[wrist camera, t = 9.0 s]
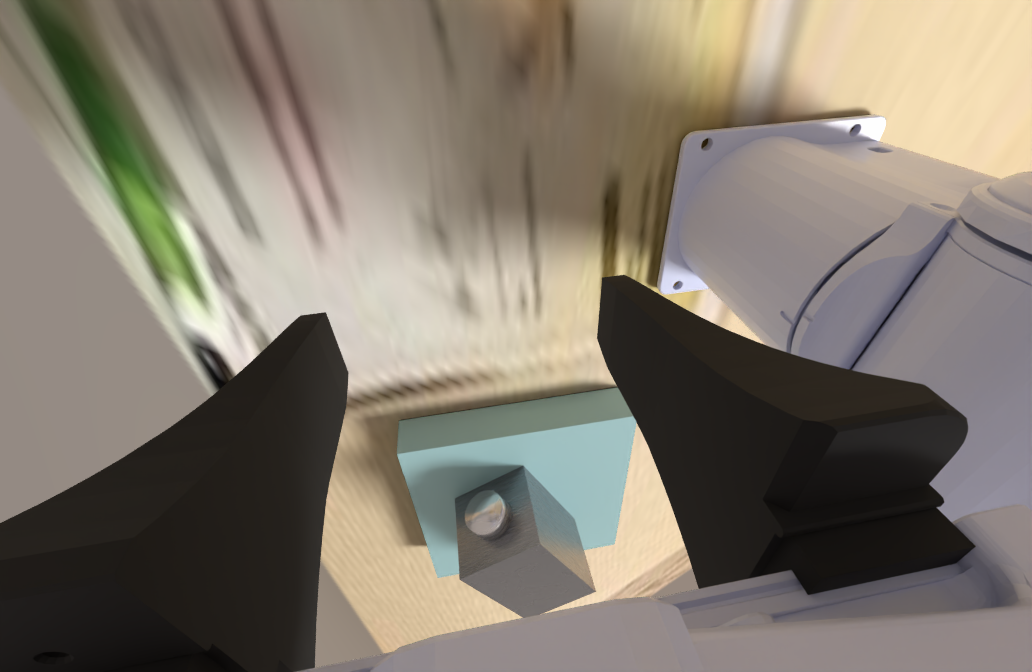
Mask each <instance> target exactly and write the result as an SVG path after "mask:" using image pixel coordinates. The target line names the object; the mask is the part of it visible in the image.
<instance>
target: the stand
mask: <svg viewBox="0 0 1032 672" xmlns="http://www.w3.org/2000/svg"><path fill="white" fill-rule="evenodd" d="M635 428H636V420H635V419H634V417H633V415H632V413H631V411H630V409H629V407H628V405H627V404H626V402H625V400H624V398H623V396H622V394H621V392H620V391H619V389H618V387H616V388H610V389H603V390H597V391H590V392H584V393H577V394H571V395H564V396H557V397H551V398H544V399H538V400H531V401H525V402H518V403H512V404H505V405H499V406H492V407H485V408H479V409H472V410H466V411H459V412H453V413H446V414H440V415H433V416H427V417H420V418H413V419H407V420H400V421H399V426H398V443H397V456H398V459H399V462H400V465H401V468H402V471H403V474H404V477H405V480H406V483H407V486H408V489H409V492H410V495H411V498H412V501H413V504H414V507H415V510H416V513H417V516H418V519H419V523H420V526H421V529H422V532H423V535H424V538H425V541H426V544H427V547H428V550H429V553H430V556H431V559H432V562H433V565H434V568H435V571H436V574H437V577H438V578H440V577H445V576H450V575H456V574H459V560H458V544H457V528H456V511H455V498H456V497H459V496H461V495H463V494H465V493H467V492H469V491H471V490H473V489H475V488H477V487H479V486H481V485H484V484H486V483H488V482H490V481H492V480H494V479H496V478H498V477H500V476H502V475H504V474H507V473H509V472H511V471H513V470H515V469H517V468H519V467H521V466H523V465H524V467H525V468H526V469H527V470H528V471H529V472H530V473H531V474H532V475H533V476H534V477H535V478H536V479H537V480H538V481H539V482H540V483H541V484H542V485H543V486H544V487H545V488H546V489H547V490H548V492H549V493H550V494H551V495H552V496H553V497H554V498H555V499H556V500H557V501H558V502H559V503H560V504H561V505H562V506H563V507H564V508H565V509H566V510H567V511H568V512H569V513H570V514H571V515H572V516H573V518H574V519H575V522H576V525H577V529H578V532H579V535H580V539H581V542H582V546H583V549H584V550H587V549H592V548H597V547H603V546H608V545H613V544H615V539H616V533H617V528H618V522H619V517H620V511H621V505H622V500H623V494H624V489H625V483H626V478H627V472H628V466H629V461H630V455H631V450H632V444H633V439H634V433H635Z"/></svg>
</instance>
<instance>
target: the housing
mask: <svg viewBox="0 0 1032 672" xmlns="http://www.w3.org/2000/svg"><path fill="white" fill-rule="evenodd" d="M455 511H456V528H457V544H458V560H459V576H460V580H461V581H463V582H465V583H466V584H468V585H470V586H471V587H473V588H475V589H476V590H478V591H480V592H481V593H483V594H485V595H486V596H488V597H490V598H491V599H493V600H495V601H496V602H498V603H500V604H501V605H503V606H505V607H506V608H508V609H510V610H511V611H513V612H515V613H516V614H518V615H520V616H521V617H523V618H526V617H530V616H535V615H540V614H542V613H545V612H547V611H550V610H552V609H554V608H557V607H559V606H562V605H564V604H567V603H569V602H572V601H574V600H576V599H579V598H581V597H584V596H586V595H589V594H591V593H594V592H596V590H595V587H594V584H593V580H592V577H591V573H590V570H589V566H588V563H587V560H586V556H585V553H584V549H583V546H582V542H581V539H580V535H579V532H578V529H577V525H576V522H575V519H574V518H573V516H572V515H571V514H570V513H569V512H568V511H567V510H566V509H565V508H564V507H563V506H562V505H561V504H560V503H559V502H558V501H557V500H556V499H555V498H554V497H553V496H552V495H551V494H550V493H549V492H548V490H547V489H546V488H545V487H544V486H543V485H542V484H541V483H540V482H539V481H538V480H537V479H536V478H535V477H534V476H533V475H532V474H531V473H530V472H529V471H528V470H527V469H526V468H525V467H524V465H523V466H521V467H519V468H517V469H515V470H513V471H511V472H509V473H507V474H504V475H502V476H500V477H498V478H496V479H494V480H492V481H490V482H488V483H486V484H484V485H481V486H479V487H477V488H475V489H473V490H471V491H469V492H467V493H465V494H463V495H461V496H459V497H456V498H455Z"/></svg>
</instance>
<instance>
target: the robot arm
mask: <svg viewBox="0 0 1032 672" xmlns="http://www.w3.org/2000/svg"><path fill="white" fill-rule="evenodd" d="M885 125H886V119H885V118H884V117H883V116H880V115H864V116H853V117H842V118H831V119H820V120H810V121H799V122H788V123H777V124H766V125H756V126H745V127H734V128H723V129H712V130H702V131H693V132H690V133H689V134H687V135H686V136H685V138H684V139H683V141H682V144H681V149H680V154H679V160H678V166H677V172H676V178H675V183H674V189H673V195H672V201H671V206H670V212H669V218H668V224H667V230H666V235H665V241H664V247H663V253H662V258H661V264H660V270H659V276H658V282H657V288H658V290H659V291H660V292H661V293H662V294H673V293H680V292H688V291H696V290H703V289H711V290H712V291H713V292H714V293H715V294H716V295H717V296H718V297H719V298H720V299H721V300H722V301H723V302H724V303H725V304H726V305H727V306H728V307H729V308H730V309H731V310H732V311H733V312H734V314H735V315H736V316H737V317H738V318H739V319H740V320H741V321H742V322H743V323H744V324H745V325H746V326H747V327H748V328H749V329H750V330H751V331H752V332H753V333H754V334H755V335H756V336H757V337H758V338H759V339H760V340H761V341H762V342H763V343H764V344H765V345H764V344H761V343H758V342H756V341H753V340H751V339H748V338H746V337H743V336H741V335H738V334H736V333H733V332H731V331H729V330H726V329H724V328H722V327H720V326H718V325H716V324H713V323H711V322H709V321H707V320H705V319H703V318H701V317H699V316H697V315H695V314H694V313H692V312H690V311H688V310H686V309H684V308H682V307H681V306H679V305H677V304H675V303H673V302H672V301H670V300H668V299H666V298H665V297H663V296H661V295H659V294H658V293H656V292H654V291H653V290H651V289H649V288H648V287H646V286H644V285H642V284H641V283H639V282H637V281H635V280H633V279H632V278H630V277H628V276H625V275H620V276H612V277H604V278H602V287H601V299H600V311H599V323H598V334H597V339H598V342H599V345H600V348H601V351H602V354H603V357H604V359H605V362H606V365H607V367H608V369H609V371H610V373H611V375H612V377H613V379H614V381H615V383H616V385H617V387H618V389H619V391H620V392H621V394H622V396H623V398H624V400H625V402H626V404H627V405H628V407H629V409H630V411H631V413H632V415H633V417H634V419H635V420H636V422H637V424H638V426H639V428H640V430H641V432H642V434H643V436H644V438H645V440H646V442H647V444H648V446H649V449H650V451H651V454H652V456H653V459H654V461H655V464H656V467H657V469H658V472H659V474H660V477H661V479H662V482H663V485H664V487H665V490H666V493H667V495H668V498H669V501H670V503H671V506H672V509H673V512H674V514H675V517H676V520H677V523H678V526H679V529H680V532H681V535H682V538H683V541H684V544H685V547H686V550H687V553H688V556H689V559H690V562H691V565H692V569H693V572H694V575H695V578H696V581H697V584H698V587H699V589H696V590H691V591H686V592H682V593H676V594H672V595H667V596H662V597H657V598H650V597H637V598H625V599H614V600H609V601H604V602H599V603H594V604H589V605H584V606H579V607H575V608H570V609H565V610H560V611H555V612H550V613H545V614H540V615H535V616H530V617H526V618H521V619H516V620H511V621H506V622H501V623H496V624H491V625H486V626H481V627H476V628H472V629H467V630H462V631H457V632H452V633H447V634H442V635H437V636H434V637H430V638H427V639H424V640H421V641H418V642H415V643H412V644H408V645H405V646H402V647H399V648H398V649H397V650H395V651H394V652H389V653H384V654H380V655H375V656H370V657H365V658H360V659H356V660H351V661H346V662H341V663H336V664H331V665H326V666H321V667H317V668H315V643H316V641H315V640H316V616H317V600H318V583H319V582H318V581H319V568H320V557H321V545H322V534H323V525H324V516H325V506H326V498H327V492H328V487H329V481H330V477H331V473H332V468H333V464H334V459H335V455H336V450H337V446H338V442H339V437H340V433H341V428H342V424H343V419H344V414H345V409H346V402H347V389H348V371H347V368H346V365H345V363H344V360H343V357H342V355H341V352H340V349H339V347H338V344H337V341H336V338H335V336H334V333H333V330H332V328H331V325H330V322H329V320H328V317H327V314H326V313H318V314H310V315H302V316H300V317H299V318H297V319H296V320H295V321H294V322H293V323H292V324H291V325H289V326H288V327H287V328H286V329H285V330H284V331H283V332H282V333H281V334H280V335H279V336H278V337H277V338H276V339H275V340H274V341H273V342H272V343H271V344H270V345H269V346H268V347H267V348H265V349H264V350H263V351H262V352H261V353H260V354H259V355H258V356H257V357H256V358H255V359H254V360H253V361H252V362H251V363H250V364H249V365H247V366H246V367H245V368H244V369H243V370H242V371H241V372H239V373H238V374H237V375H236V376H235V377H234V378H233V379H231V380H230V381H229V382H228V383H227V384H226V385H224V386H223V387H222V388H221V389H220V390H219V391H218V392H216V393H215V394H214V395H213V396H212V397H210V398H209V399H208V400H207V401H205V402H204V403H203V404H201V405H200V406H199V407H197V408H196V409H195V410H193V411H192V412H191V413H189V414H188V415H187V416H185V417H184V418H183V419H181V420H180V421H178V422H177V423H176V424H174V425H173V426H171V427H170V428H168V429H167V430H166V431H164V432H162V433H161V434H160V435H158V436H156V437H155V438H153V439H152V440H150V441H148V442H147V443H145V444H144V445H142V446H141V447H139V448H137V449H136V450H134V451H133V452H131V453H130V454H128V455H127V456H125V457H124V458H122V459H120V460H119V461H117V462H115V463H113V464H112V465H110V466H108V467H107V468H105V469H103V470H101V471H100V472H98V473H96V474H95V475H93V476H91V477H89V478H88V479H86V480H84V481H82V482H80V483H78V484H77V485H74V486H73V487H71V488H69V489H67V490H65V491H64V492H62V493H60V494H58V495H56V496H54V497H52V498H50V499H48V500H46V501H44V502H43V503H41V504H39V505H37V506H35V507H32V508H30V509H28V510H26V511H24V512H22V513H20V514H18V515H16V516H14V517H12V518H10V519H8V520H6V521H4V522H2V523H0V672H1032V172H1022V173H1017V174H1014V175H1011V176H1009V177H1006V178H1003V179H999V178H996V177H993V176H989V175H986V174H983V173H980V172H977V171H973V170H970V169H967V168H964V167H960V166H957V165H954V164H951V163H947V162H944V161H941V160H938V159H934V158H931V157H928V156H925V155H921V154H918V153H915V152H912V151H909V150H905V149H902V148H899V147H896V146H892V145H889V144H886V143H883V142H879V140H880V138H881V135H882V133H883V131H884V128H885ZM853 126H854V129H853V130H852V132H850V130H851V128H852V127H853ZM707 138H708V144H707V145H706V146H705V147H704V148H702V149H701V144H702V142H703V141H704V140H705V139H707ZM678 281H679V283H678V284H677V285H675V286H673V285H674V284H675V283H676V282H678Z"/></svg>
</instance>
